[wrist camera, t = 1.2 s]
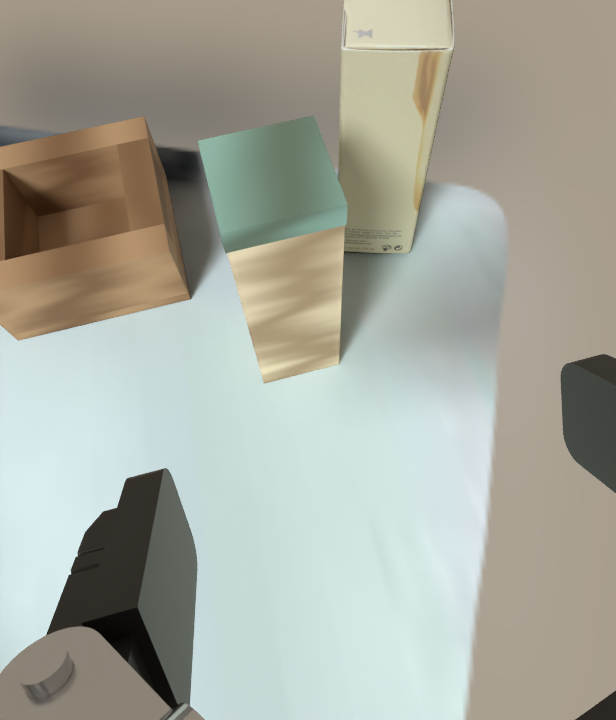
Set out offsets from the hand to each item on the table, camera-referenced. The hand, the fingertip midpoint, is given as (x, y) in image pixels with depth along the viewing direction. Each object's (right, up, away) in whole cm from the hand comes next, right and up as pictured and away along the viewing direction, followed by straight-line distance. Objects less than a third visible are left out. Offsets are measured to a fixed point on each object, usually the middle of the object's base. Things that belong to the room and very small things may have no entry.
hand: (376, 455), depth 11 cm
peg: (-2, +3, +18) cm, 18 cm away
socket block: (-14, +8, +21) cm, 26 cm away
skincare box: (+3, +11, +22) cm, 24 cm away
